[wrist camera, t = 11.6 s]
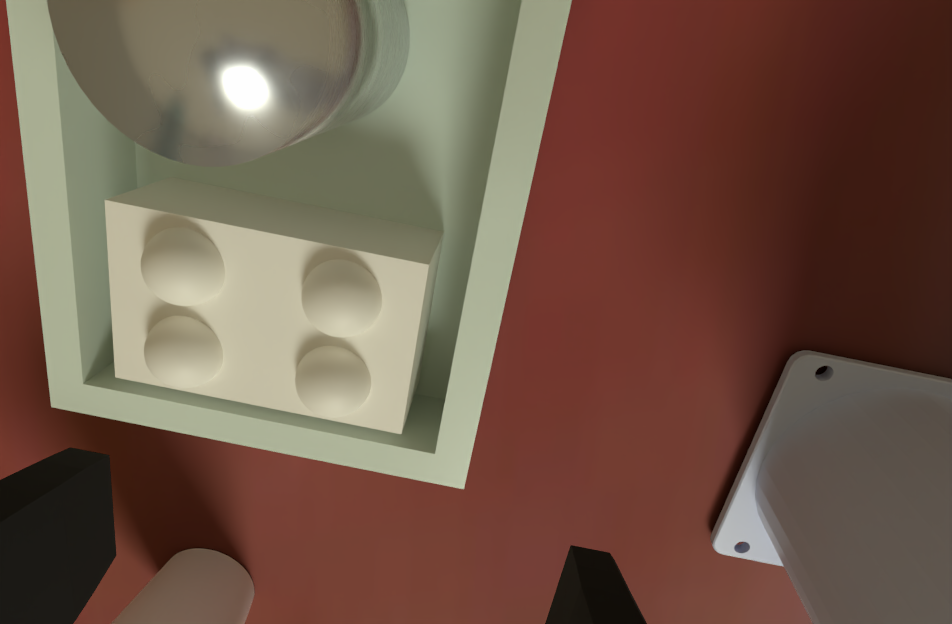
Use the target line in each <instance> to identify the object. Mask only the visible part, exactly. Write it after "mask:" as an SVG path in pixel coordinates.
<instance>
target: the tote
mask: <svg viewBox="0 0 952 624" xmlns="http://www.w3.org/2000/svg"><path fill="white" fill-rule="evenodd" d="M403 1H404V4H405V8H406V11H407V15H408V21H409V27H410V48H409V56H408V60H407V65H406V68H405V71H404V74H403V76H402V78H401V80H400V82H399V84H398V86H397V87H396V89H395V90H394V92H393V93H392V95H391V96H390V97H389V98H388V99H387V100H386V102H385V103H383V104H382V105H381V106H380V107H379V108H378V109H376V110H375V111H373V112H372V113H370V114H368V115H366V116H364V117H362V118H360V119H357V120H355V121H352V122H349V123H347V124H344V125H342V126H339V127H337V128H334V129H331V130H329V131H326V132H324V133H321V134H319V135H316V136H313V137H311V138H308V139H306V140H303V141H301V142H298V143H296V144H293V145H290V146H288V147H285V148H283V149H280V150H278V151H275V152H272V153H270V154H267V155H265V156H262V157H260V158H257V159H254V160H252V161H248V162H245V163H241V164H237V165H230V166H222V167H203V166H196V165H190V164H185V163H181V162H178V161H174V160H171V159H168V158H165V157H163V156H161V155H158V154H156V153H153V152H151V151H150V150H148V149H146V148H144V147H143V146H141V145H139V144H137V143H136V142H134V141H133V140H131V139H130V138H129V137H127V136H126V135H124V134H123V133H122V132H120V131H119V130H118V129H117V128H116V127H115V126H114V125H112V124H111V123H110V122H109V121H108V120H107V119H106V118H105V117H104V116H103V115H102V114H101V113H100V112H99V111H98V110H97V108H96V107H95V106H94V105H93V104H92V103H91V101H90V100H89V99H88V97H87V96H86V95H85V93H84V92H83V91H82V89H81V88H80V86H79V85H78V83H77V82H76V80H75V78H74V77H73V75H72V73H71V72H70V70H69V68H68V66H67V64H66V62H65V59H64V57H63V55H62V53H61V51H60V48H59V45H58V43H57V40H56V37H55V34H54V31H53V28H52V23H51V19H50V15H49V11H48V4H47V0H6V5H7V14H8V23H9V32H10V41H11V50H12V59H13V68H14V77H15V86H16V95H17V104H18V113H19V122H20V131H21V140H22V149H23V158H24V167H25V176H26V185H27V194H28V203H29V212H30V221H31V230H32V239H33V248H34V257H35V266H36V275H37V284H38V293H39V302H40V311H41V320H42V329H43V338H44V347H45V356H46V365H47V374H48V383H49V392H50V401H51V407H53V408H58V409H63V410H68V411H73V412H78V413H83V414H88V415H93V416H98V417H103V418H108V419H113V420H118V421H123V422H128V423H134V424H139V425H144V426H149V427H154V428H159V429H164V430H169V431H174V432H179V433H184V434H189V435H194V436H199V437H204V438H209V439H214V440H219V441H224V442H229V443H234V444H239V445H244V446H249V447H254V448H259V449H264V450H269V451H274V452H279V453H284V454H289V455H294V456H299V457H304V458H309V459H314V460H319V461H325V462H330V463H335V464H340V465H345V466H350V467H355V468H360V469H365V470H370V471H375V472H380V473H385V474H390V475H395V476H400V477H405V478H410V479H415V480H420V481H425V482H430V483H435V484H440V485H445V486H450V487H455V488H460V489H464V486H465V481H466V477H467V472H468V468H469V463H470V459H471V454H472V450H473V445H474V441H475V436H476V431H477V427H478V422H479V418H480V413H481V409H482V404H483V400H484V395H485V391H486V386H487V382H488V377H489V373H490V368H491V364H492V359H493V355H494V350H495V346H496V341H497V336H498V332H499V327H500V323H501V318H502V314H503V309H504V305H505V300H506V296H507V291H508V287H509V282H510V278H511V273H512V269H513V264H514V260H515V255H516V250H517V246H518V241H519V237H520V232H521V228H522V223H523V219H524V214H525V210H526V205H527V201H528V196H529V192H530V187H531V183H532V178H533V174H534V169H535V164H536V160H537V155H538V151H539V146H540V142H541V137H542V133H543V128H544V124H545V119H546V115H547V110H548V106H549V101H550V97H551V92H552V88H553V83H554V78H555V74H556V69H557V65H558V60H559V56H560V51H561V47H562V42H563V38H564V33H565V29H566V24H567V20H568V15H569V11H570V6H571V2H572V0H403ZM169 177H173V178H178V179H183V180H188V181H193V182H198V183H203V184H208V185H213V186H218V187H223V188H228V189H233V190H238V191H243V192H248V193H253V194H258V195H263V196H268V197H273V198H278V199H283V200H288V201H293V202H298V203H303V204H308V205H313V206H318V207H323V208H328V209H333V210H338V211H343V212H348V213H353V214H358V215H363V216H368V217H373V218H378V219H383V220H388V221H393V222H398V223H403V224H408V225H413V226H418V227H423V228H428V229H433V230H438V231H443V232H444V236H443V242H442V247H441V253H440V259H439V265H438V271H437V277H436V283H435V289H434V295H433V301H432V307H431V313H430V318H429V324H428V330H427V336H426V342H425V348H424V354H423V360H422V366H421V372H420V378H419V382H418V385H417V388H416V391H415V394H414V398H413V401H412V404H411V407H410V410H409V413H408V416H407V419H406V422H405V425H404V428H403V431H402V434H397V433H392V432H387V431H382V430H377V429H372V428H367V427H362V426H357V425H352V424H347V423H342V422H337V421H332V420H327V419H322V418H317V417H312V416H306V415H301V414H296V413H291V412H286V411H281V410H276V409H271V408H266V407H261V406H256V405H251V404H246V403H241V402H236V401H231V400H226V399H221V398H216V397H211V396H206V395H201V394H196V393H191V392H186V391H181V390H176V389H171V388H166V387H161V386H156V385H151V384H146V383H141V382H136V381H131V380H126V379H121V378H116V377H115V366H114V349H113V333H112V316H111V300H110V283H109V266H108V250H107V233H106V217H105V200H106V199H108V198H111V197H114V196H117V195H120V194H123V193H126V192H129V191H132V190H135V189H137V188H140V187H143V186H146V185H149V184H152V183H155V182H158V181H161V180H164V179H166V178H169Z"/></svg>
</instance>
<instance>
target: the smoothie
mask: <svg viewBox="0 0 952 624" xmlns="http://www.w3.org/2000/svg"><path fill="white" fill-rule="evenodd" d="M253 597H254V585H253V581H252V579H251V577H250V575H249V574H248V572H247V571H246V570H245V569H244V568H243V566H242V565H240V564H239V563H238V562H237V561H235V560H234V559H232V558H231V557H229V556H227V555H225V554H223V553H220V552H218V551H214V550H210V549H202V548H194V549H187V550H184V551H181V552H179V553H177V554H175V555H174V556H173V557H172V558H171V559H170V560H169V561H168V562H167V563H166V564H165V565H164V566H163V567H162V569H161V570H160V571H159V572H158V573H157V574H156V575H155V576H154V577H153V578H152V579H151V580H150V582H149V583H148V584H147V585H146V586H145V587H144V588H143V589H142V590H141V591H140V592H139V594H138V595H137V596H136V597H135V598H134V599H133V600H132V601H131V602H130V603H129V604H128V606H127V607H126V608H125V609H124V610H123V611H122V612H121V613H120V614H119V615H118V616H117V618H116V619H115V620H114V621H113V622H112V623H111V624H245V621H246V618H247V615H248V612H249V609H250V606H251V604H252V601H253Z"/></svg>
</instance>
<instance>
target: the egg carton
mask: <svg viewBox="0 0 952 624" xmlns="http://www.w3.org/2000/svg"><path fill="white" fill-rule="evenodd" d="M105 217H106V233H107V250H108V266H109V283H110V300H111V316H112V333H113V349H114V366H115V377H116V378H121V379H126V380H131V381H136V382H141V383H146V384H151V385H156V386H161V387H166V388H171V389H176V390H181V391H186V392H191V393H196V394H201V395H206V396H211V397H216V398H221V399H226V400H231V401H236V402H241V403H246V404H251V405H256V406H261V407H266V408H271V409H276V410H281V411H286V412H291V413H296V414H301V415H306V416H312V417H317V418H322V419H327V420H332V421H337V422H342V423H347V424H352V425H357V426H362V427H367V428H372V429H377V430H382V431H387V432H392V433H397V434H402V431H403V428H404V425H405V422H406V419H407V416H408V413H409V410H410V407H411V404H412V401H413V398H414V394H415V391H416V388H417V385H418V382H419V378H420V372H421V366H422V360H423V354H424V348H425V342H426V336H427V330H428V324H429V318H430V313H431V307H432V301H433V295H434V289H435V283H436V277H437V271H438V265H439V259H440V253H441V247H442V242H443V236H444V232H443V231H438V230H433V229H428V228H423V227H418V226H413V225H408V224H403V223H398V222H393V221H388V220H383V219H378V218H373V217H368V216H363V215H358V214H353V213H348V212H343V211H338V210H333V209H328V208H323V207H318V206H313V205H308V204H303V203H298V202H293V201H288V200H283V199H278V198H273V197H268V196H263V195H258V194H253V193H248V192H243V191H238V190H233V189H228V188H223V187H218V186H213V185H208V184H203V183H198V182H193V181H188V180H183V179H178V178H173V177H169V178H166V179H164V180H161V181H158V182H155V183H152V184H149V185H146V186H143V187H140V188H137V189H135V190H132V191H129V192H126V193H123V194H120V195H117V196H114V197H111V198H108V199H106V200H105Z"/></svg>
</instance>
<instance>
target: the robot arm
mask: <svg viewBox="0 0 952 624" xmlns="http://www.w3.org/2000/svg"><path fill="white" fill-rule="evenodd" d="M822 366H827V370H826V371H825V372H824V373H822V374H820V375H815V372H816V371H817V369H818V368H820V367H822ZM710 540H711V542H712V545H713V548H714V550H716V551H717V552H718V553H720V554H723V555H729V556H734V557H739V558H744V559H749V560H754V561H759V562H764V563H769V564H774V565H779V566H784V568H785V570H786V572H787V574H788V576H789V578H790V580H791V582H792V584H793V585H794V587H795V589H796V591H797V593H798V595H799V597H800V599H801V601H802V603H803V605H804V607H805V609H806V611H807V613H808V615H809V617H810V619H811V621H812V623H813V624H952V379H950V378H945V377H940V376H935V375H930V374H925V373H920V372H915V371H910V370H905V369H900V368H895V367H890V366H885V365H880V364H875V363H870V362H865V361H860V360H855V359H850V358H845V357H840V356H835V355H830V354H825V353H820V352H815V351H810V350H803V351H799V352H796V353H795V354H794V355H792V356H791V357H790V358H789V360H788V361H787V363H786V366H785V368H784V370H783V372H782V375H781V377H780V379H779V381H778V384H777V386H776V388H775V390H774V393H773V395H772V397H771V400H770V402H769V404H768V406H767V409H766V411H765V413H764V415H763V418H762V420H761V422H760V425H759V427H758V429H757V431H756V434H755V436H754V438H753V440H752V443H751V445H750V447H749V449H748V452H747V454H746V456H745V459H744V461H743V463H742V465H741V468H740V470H739V472H738V474H737V477H736V479H735V481H734V484H733V486H732V488H731V490H730V493H729V495H728V497H727V499H726V502H725V504H724V506H723V508H722V511H721V513H720V515H719V518H718V520H717V522H716V524H715V527H714V529H713V531H712V533H711V537H710ZM739 542H744V543H743V544H740V545H736V544H737V543H739ZM115 556H116V544H115V530H114V515H113V501H112V487H111V472H110V458H109V455H106V454H101V453H96V452H90V451H85V450H80V449H75V448H68V449H66V450H64V451H61V452H59V453H57V454H54V455H52V456H50V457H48V458H46V459H43V460H41V461H39V462H37V463H35V464H33V465H31V466H29V467H26V468H24V469H22V470H20V471H18V472H16V473H14V474H12V475H10V476H8V477H6V478H4V479H2V480H0V624H73V623H74V622H75V620H76V619H77V617H78V616H79V614H80V613H81V611H82V610H83V608H84V606H85V605H86V603H87V602H88V600H89V599H90V597H91V596H92V594H93V593H94V591H95V589H96V588H97V586H98V584H99V583H100V581H101V580H102V578H103V576H104V575H105V573H106V571H107V570H108V568H109V566H110V565H111V563H112V561H113V560H114V558H115ZM545 624H647V623H646V621H645V619H644V617H643V616H642V614H641V612H640V610H639V608H638V606H637V604H636V602H635V600H634V598H633V596H632V594H631V592H630V590H629V588H628V586H627V584H626V582H625V580H624V578H623V576H622V574H621V572H620V570H619V568H618V566H617V564H616V562H615V560H614V559H613V557H612V556H611V554H610V553H608V552H603V551H598V550H592V549H587V548H582V547H577V546H572V545H571V546H570V549H569V552H568V555H567V558H566V562H565V565H564V568H563V571H562V574H561V577H560V580H559V583H558V586H557V589H556V592H555V595H554V599H553V602H552V605H551V608H550V611H549V614H548V617H547V620H546V623H545Z"/></svg>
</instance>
